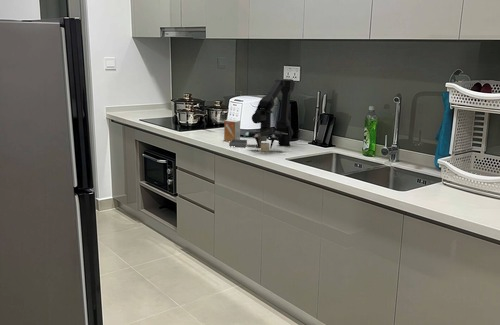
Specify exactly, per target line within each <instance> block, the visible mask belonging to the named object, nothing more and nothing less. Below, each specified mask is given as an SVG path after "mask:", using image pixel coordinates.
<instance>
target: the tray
mask: <svg viewBox="0 0 500 325" xmlns="http://www.w3.org/2000/svg"><path fill="white" fill-rule="evenodd" d="M228 144H229V146H235V147H234V148H246V147H247V145H246V144H248V140H247V139H240V140H235V139H232V140H231V141H230V142H229V143H228ZM229 146H228V147H229ZM245 146H246V147H245Z"/></svg>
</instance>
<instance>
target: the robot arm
mask: <svg viewBox="0 0 500 325" xmlns="http://www.w3.org/2000/svg"><path fill="white" fill-rule="evenodd" d="M295 84H296V83H295V81H294V80H293V78H292V79H290V78H282V79H281V78H279V79H278V78H277V79H275V82H274V84H273V85H272V86H271V88H270V89H269V91H268V93H267V94H266V95H264V96H263V97H262V98H260V100H259V102H258V104H257V107H256V109H255V111H254V113H253V114H252V116H251V120H252V122H253V123H254V124H260V128H259V131H257V130H255V129H250V130H249V131H248V132H249V136H248V137H252V138H253V139H255V141H256V146H257V145H258V148H257V149H260V148H259V147H260V145H259V136H258V135H260V136H262V137H263V136H266V137H267V138H268V137H269V136H271V141H270V145H269V150H271V149H272V147H273V145H274V142H275V140H277V139H278V140H277V141H278V142H277V143H278V145H279V146H284V147H285V146H287V147H290V146H291V141H290V140H291V137H292V136H293V135H294V130H293V128H292V126H291V124H292V123H291V121H290V119H289V116H290V115H289V114H290V103H291V94H292V93H293V91H294V89H295ZM280 92H281V104H280V105H281V106H280V115H279V116H280V118H278V120H277V121H276V126H275V131H274V129H273V127H271V125H272V124H271V123H272V122H271V121H272V114H273V113H274V112H273V108H274V106H275V100H276V98H277V96H278V95H279V93H280Z"/></svg>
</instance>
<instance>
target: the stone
mask: <svg viewBox="0 0 500 325" xmlns="http://www.w3.org/2000/svg"><path fill="white" fill-rule="evenodd" d="M261 151H270V142H261V148H260V152H261Z"/></svg>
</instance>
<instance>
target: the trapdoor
mask: <svg viewBox="0 0 500 325" xmlns="http://www.w3.org/2000/svg"><path fill="white" fill-rule="evenodd" d="M244 136H246V137H250V136H249V131H248V132H245V134H244ZM260 141H261V142H267V141H268V137H266V136H263V137H262V136H260Z"/></svg>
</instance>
